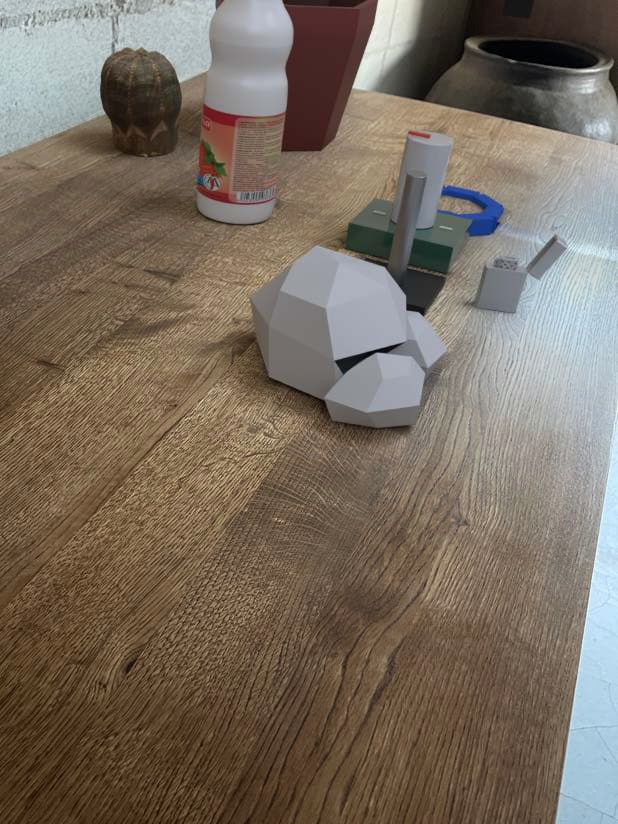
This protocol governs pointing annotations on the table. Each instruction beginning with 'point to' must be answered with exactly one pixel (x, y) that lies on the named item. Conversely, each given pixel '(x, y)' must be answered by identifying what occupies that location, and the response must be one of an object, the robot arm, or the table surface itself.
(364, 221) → the panel
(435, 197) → the tap knob
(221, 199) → the fruit juice
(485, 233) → the ring
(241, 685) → the table surface
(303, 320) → the rock
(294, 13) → the bucket
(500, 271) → the lighter
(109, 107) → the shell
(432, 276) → the peg stand
